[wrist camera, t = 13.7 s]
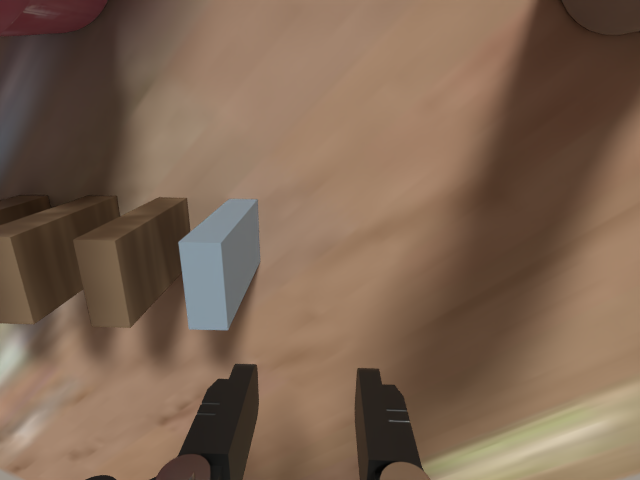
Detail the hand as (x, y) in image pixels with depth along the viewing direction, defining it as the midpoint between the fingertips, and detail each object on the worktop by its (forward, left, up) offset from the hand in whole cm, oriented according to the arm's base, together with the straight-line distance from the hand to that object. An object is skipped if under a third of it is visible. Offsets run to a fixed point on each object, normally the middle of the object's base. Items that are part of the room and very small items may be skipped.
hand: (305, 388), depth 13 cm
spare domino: (+5, +3, -17) cm, 18 cm away
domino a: (+10, +5, -17) cm, 21 cm away
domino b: (+15, +7, -17) cm, 24 cm away
